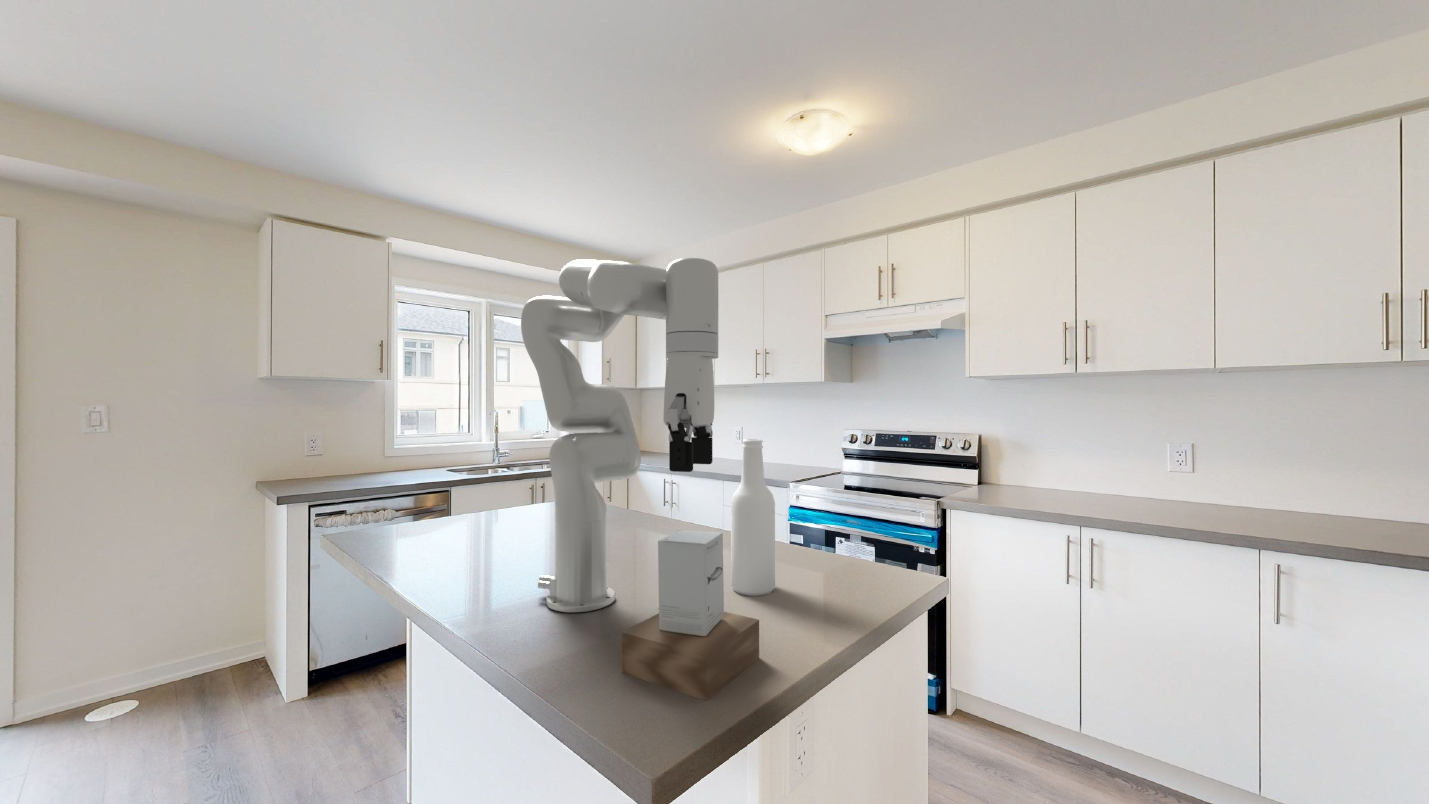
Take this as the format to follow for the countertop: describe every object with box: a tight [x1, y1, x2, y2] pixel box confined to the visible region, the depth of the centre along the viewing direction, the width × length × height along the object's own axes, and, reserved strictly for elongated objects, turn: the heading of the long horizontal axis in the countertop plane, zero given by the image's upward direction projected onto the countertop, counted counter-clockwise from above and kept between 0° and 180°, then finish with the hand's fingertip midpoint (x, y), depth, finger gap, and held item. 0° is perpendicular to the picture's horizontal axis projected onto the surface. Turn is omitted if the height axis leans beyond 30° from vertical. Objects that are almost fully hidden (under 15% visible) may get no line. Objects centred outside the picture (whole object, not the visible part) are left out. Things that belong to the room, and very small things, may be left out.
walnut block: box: [621, 611, 760, 702], centre depth 79 cm, size 14×14×6 cm
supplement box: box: [657, 529, 725, 636], centre depth 80 cm, size 7×7×13 cm
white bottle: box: [730, 438, 776, 597], centre depth 112 cm, size 9×9×30 cm
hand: (692, 467), depth 80 cm, fingers open, 9 cm apart
